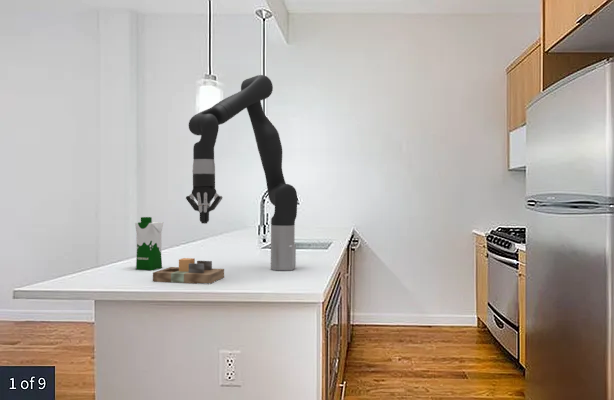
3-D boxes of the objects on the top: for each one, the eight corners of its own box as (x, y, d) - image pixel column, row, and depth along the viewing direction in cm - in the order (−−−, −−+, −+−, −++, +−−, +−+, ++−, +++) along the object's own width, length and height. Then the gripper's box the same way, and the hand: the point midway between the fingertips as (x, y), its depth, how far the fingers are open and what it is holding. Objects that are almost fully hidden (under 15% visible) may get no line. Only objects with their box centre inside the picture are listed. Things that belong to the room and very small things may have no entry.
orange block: (194, 270, 193) (194, 258, 193) (189, 271, 189) (189, 259, 189) (183, 269, 194) (183, 258, 194) (178, 271, 190) (178, 259, 190)
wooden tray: (224, 277, 196) (224, 260, 196) (209, 284, 182) (209, 265, 182) (171, 275, 200) (171, 258, 200) (152, 281, 186) (152, 263, 186)
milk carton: (132, 269, 213) (132, 217, 212) (146, 266, 221) (146, 216, 221) (152, 271, 210) (152, 217, 209) (165, 267, 218) (165, 216, 218)
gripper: (225, 173, 194) (226, 222, 194) (189, 173, 196) (190, 222, 196) (218, 172, 186) (219, 224, 187) (181, 172, 189) (181, 223, 189)
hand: (204, 223), depth 192 cm, fingers closed
